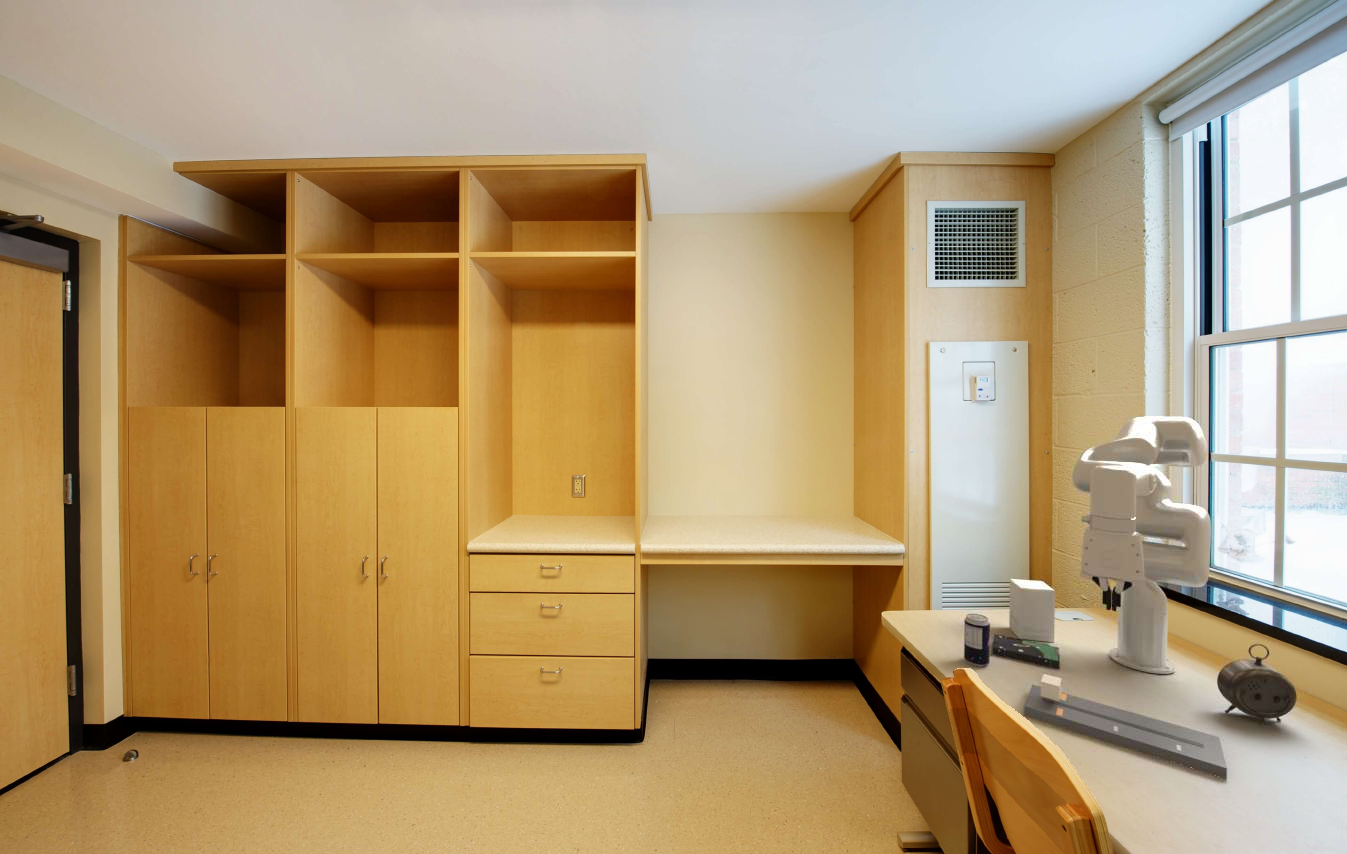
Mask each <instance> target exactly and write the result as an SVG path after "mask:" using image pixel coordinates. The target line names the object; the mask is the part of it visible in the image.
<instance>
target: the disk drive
mask: <svg viewBox="0 0 1347 854" xmlns="http://www.w3.org/2000/svg"><path fill="white" fill-rule="evenodd" d="M992 641H993V642H992V646H991V647H992V648H991V655H992V656H997V657H999V658H1001V657H1002V658H1005V659H1010V660H1014V661H1019V662H1024V663H1028V664H1032V665H1037V666H1042V667H1046V668H1050V669H1054V670H1055V669H1056V670H1061V669H1060V668H1061V658H1060V647H1057V646H1054V645H1050V644H1046V643H1039V642H1038V641H1037V642H1036V641H1033V640H1027V639H1019V638H1016V637H1013V636H1006V635H1003V634H996V633H994V636H993V640H992Z"/></svg>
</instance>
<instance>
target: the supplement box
mask: <svg viewBox="0 0 1347 854" xmlns="http://www.w3.org/2000/svg"><path fill="white" fill-rule="evenodd" d="M1055 613H1056V591H1055V590H1054V589H1053V588H1052V587H1051V586H1049V584H1046V583H1045V582H1044V581H1041V580H1029V579H1017V578H1016V579H1015V578H1010V579H1009V619H1008V620H1009V621H1008V622H1009V623H1008V625H1009V629H1010V630H1011V631H1012V632H1013V633H1014V634H1015V635H1016V637H1018V638H1017V639H1022V640H1027V641H1035V642H1036V641H1037V642H1038V641H1039V642H1046V643H1055Z"/></svg>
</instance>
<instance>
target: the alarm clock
mask: <svg viewBox="0 0 1347 854" xmlns="http://www.w3.org/2000/svg"><path fill="white" fill-rule="evenodd" d="M1256 646H1259V647H1260V646H1261V647H1263V648H1264V649H1265V650H1266V653H1267V654H1266V655H1265V656H1264V657H1260V656H1256V657H1255V656H1254V655H1252V651H1251V650H1252V649H1253V648H1254V647H1256ZM1248 654H1249V655H1250V657H1251V658H1253V659H1246V658H1245V659H1244V658H1243V659H1238V660H1234V661H1230V662H1229V663H1227V664H1225V665H1224V666H1223V667H1222V668H1221V669H1220V671H1219V673H1218V674H1217V679H1216V680H1217V681H1216V682H1217V689H1218V690H1219V692H1220V694H1221V696H1222V697H1223V698H1224V699H1225V700H1226V701H1228V702H1229V703H1230V704H1231V705H1229V706H1228V708H1227V709H1225V710H1224V713H1226V714H1229V713H1230V712H1231V711H1233V710H1235V709H1236V708H1237V709H1238V711H1240V712H1241V713H1243V714H1246V715H1248V716H1250V717H1254V718H1256V719H1257V718H1258V719H1259V722H1260V724H1261V725H1262V726H1263V725H1264V726H1266V722H1265V720H1267V719H1268V720H1269V719H1276V721H1277V720H1278V722H1279V721H1280V722H1282V719H1281V718H1280V717H1284V716H1286V715H1287V714H1289V713H1290V712H1291V711H1292V710H1293V708H1294V707H1295V705H1296V703H1297V691H1296V689H1295V686H1294V684H1293V683H1292V682H1291V680H1289V679H1288V677H1286V676H1285V675H1284V674H1282V673H1281V672H1279V670H1277V669H1275V668H1274V667H1272V666H1271V665H1269V664H1267V663H1266V662H1263V660H1265V659H1267V658H1268V657H1269V655H1270V650H1269V648H1268V647H1267V646H1266V645H1264V644H1261V643H1254V644H1251V645H1250V646H1249V648H1248Z"/></svg>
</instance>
